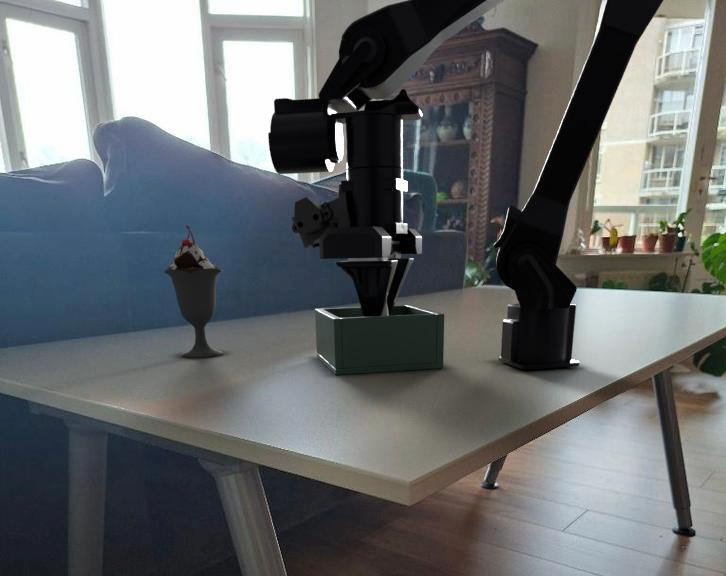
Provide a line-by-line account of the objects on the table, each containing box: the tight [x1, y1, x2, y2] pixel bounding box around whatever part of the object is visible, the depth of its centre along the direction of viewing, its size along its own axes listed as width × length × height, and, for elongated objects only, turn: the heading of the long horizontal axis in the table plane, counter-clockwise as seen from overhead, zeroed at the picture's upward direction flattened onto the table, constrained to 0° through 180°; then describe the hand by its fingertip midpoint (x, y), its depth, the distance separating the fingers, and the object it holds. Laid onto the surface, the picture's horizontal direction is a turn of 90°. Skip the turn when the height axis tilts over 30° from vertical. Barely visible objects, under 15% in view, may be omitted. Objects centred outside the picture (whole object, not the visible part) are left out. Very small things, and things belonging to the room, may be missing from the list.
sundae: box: [164, 224, 224, 359], centre depth 80 cm, size 7×7×15 cm
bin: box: [314, 304, 445, 376], centre depth 73 cm, size 12×12×6 cm
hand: (377, 326), depth 73 cm, fingers closed on rook chess piece, 3 cm apart
